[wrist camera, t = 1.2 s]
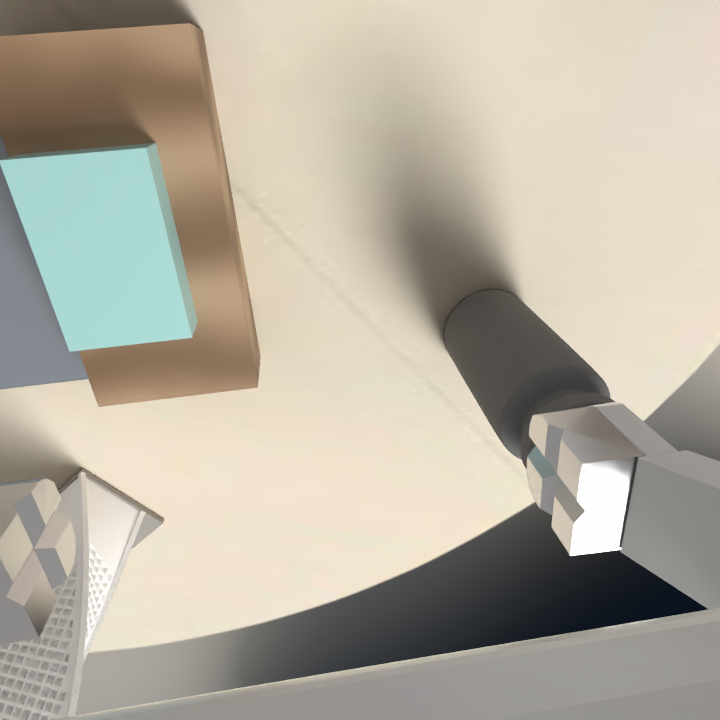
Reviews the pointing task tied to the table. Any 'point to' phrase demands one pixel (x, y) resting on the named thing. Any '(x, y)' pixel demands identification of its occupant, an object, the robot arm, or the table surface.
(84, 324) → the teal rectangular block
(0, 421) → the table surface
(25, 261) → the mat
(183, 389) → the brown wooden block
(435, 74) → the table surface
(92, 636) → the skyscraper
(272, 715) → the robot arm
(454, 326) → the bottle
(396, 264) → the table surface
